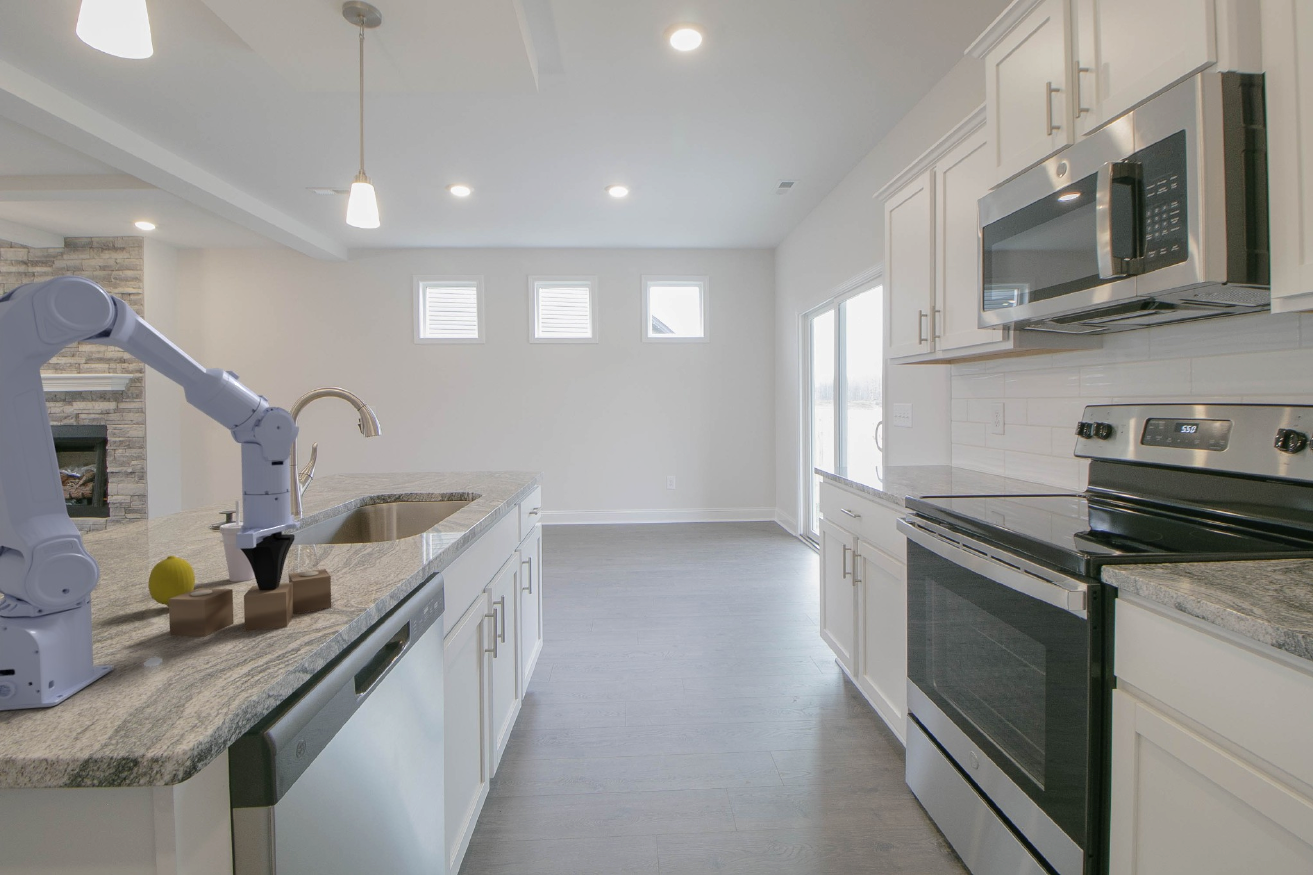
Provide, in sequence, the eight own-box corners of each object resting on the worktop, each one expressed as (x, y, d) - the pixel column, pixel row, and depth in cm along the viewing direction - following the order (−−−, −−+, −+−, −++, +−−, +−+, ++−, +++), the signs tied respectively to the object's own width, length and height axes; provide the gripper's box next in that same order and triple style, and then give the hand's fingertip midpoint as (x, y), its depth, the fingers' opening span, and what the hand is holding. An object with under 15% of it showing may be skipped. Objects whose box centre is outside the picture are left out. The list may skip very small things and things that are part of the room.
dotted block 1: (205, 637, 83) (204, 598, 83) (169, 636, 83) (168, 597, 83) (233, 624, 88) (232, 587, 88) (199, 623, 88) (198, 586, 88)
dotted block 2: (331, 608, 95) (330, 574, 95) (293, 614, 92) (292, 579, 92) (325, 600, 99) (325, 567, 99) (289, 605, 96) (288, 572, 96)
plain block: (287, 627, 87) (286, 591, 86) (244, 631, 85) (243, 595, 85) (293, 616, 91) (292, 582, 91) (253, 620, 90) (252, 585, 89)
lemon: (170, 615, 91) (168, 561, 91) (139, 612, 92) (137, 558, 92) (204, 603, 97) (203, 552, 96) (175, 601, 98) (173, 550, 97)
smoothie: (211, 581, 109) (209, 501, 108) (245, 572, 115) (243, 497, 114) (239, 585, 107) (237, 503, 106) (272, 575, 113) (270, 498, 112)
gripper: (277, 499, 81) (280, 602, 82) (315, 485, 95) (317, 573, 96) (216, 500, 80) (219, 605, 80) (264, 486, 94) (266, 575, 94)
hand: (269, 588), depth 88 cm, fingers closed
